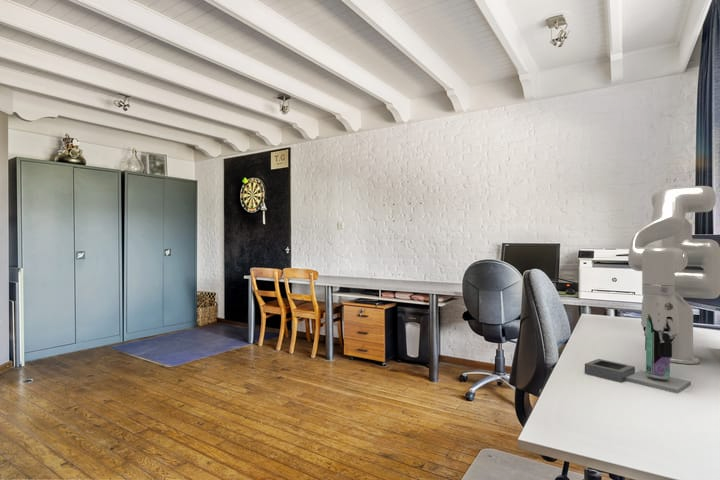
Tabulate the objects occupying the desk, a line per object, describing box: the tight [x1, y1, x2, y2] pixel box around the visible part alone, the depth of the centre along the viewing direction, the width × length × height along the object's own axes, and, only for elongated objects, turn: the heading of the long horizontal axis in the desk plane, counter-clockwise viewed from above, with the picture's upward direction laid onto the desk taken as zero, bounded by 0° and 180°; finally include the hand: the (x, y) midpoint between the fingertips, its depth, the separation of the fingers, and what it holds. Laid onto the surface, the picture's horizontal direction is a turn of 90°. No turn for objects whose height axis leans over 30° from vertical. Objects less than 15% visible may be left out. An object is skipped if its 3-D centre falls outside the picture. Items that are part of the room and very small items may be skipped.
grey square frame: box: [584, 358, 636, 384], centre depth 119 cm, size 10×10×3 cm
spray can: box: [645, 314, 671, 379], centre depth 113 cm, size 6×6×20 cm
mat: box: [625, 370, 692, 394], centre depth 113 cm, size 12×12×1 cm
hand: (658, 353), depth 113 cm, fingers closed on spray can, 5 cm apart
